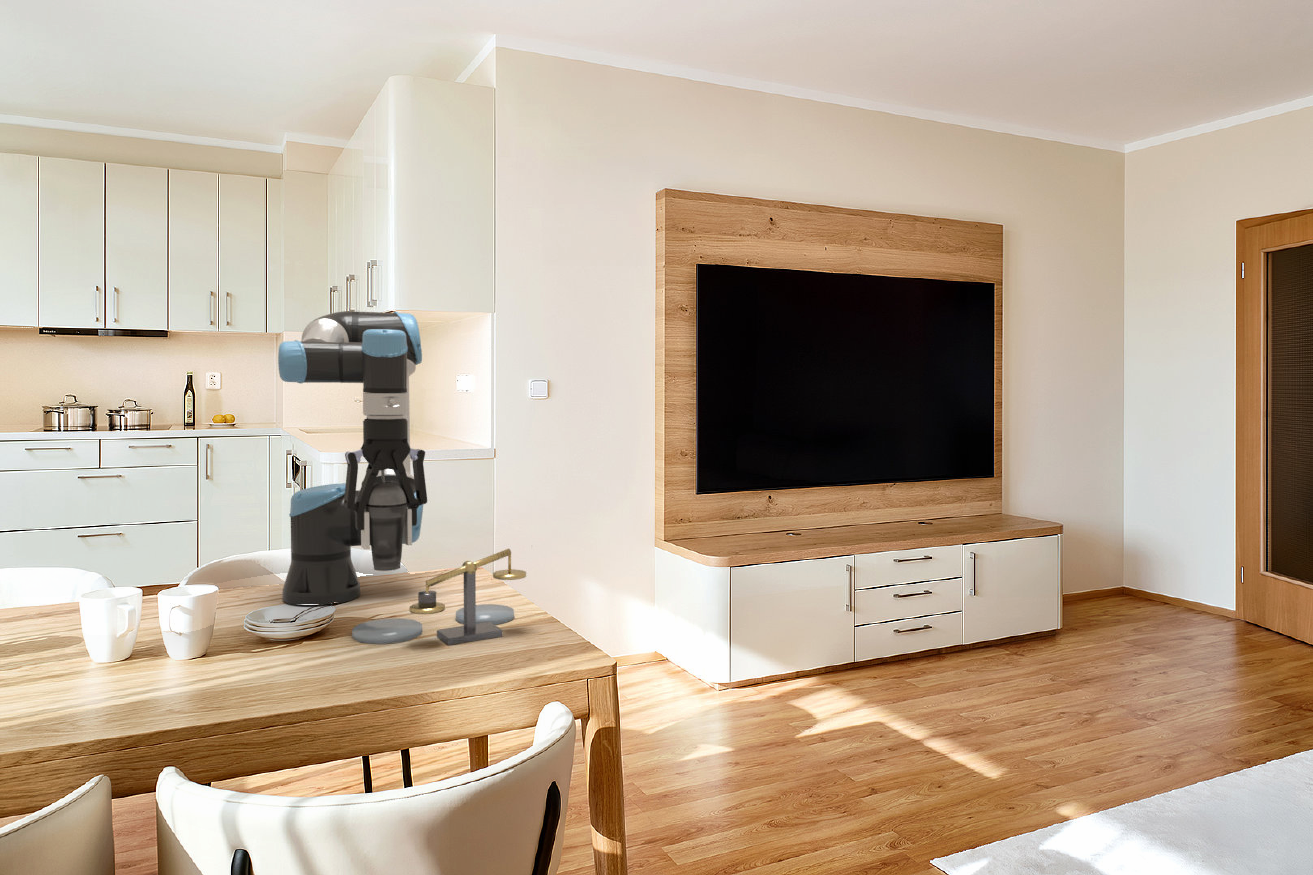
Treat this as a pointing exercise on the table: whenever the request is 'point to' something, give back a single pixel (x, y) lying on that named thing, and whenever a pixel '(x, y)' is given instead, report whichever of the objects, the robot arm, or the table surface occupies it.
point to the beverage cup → (386, 524)
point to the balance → (465, 601)
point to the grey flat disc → (387, 631)
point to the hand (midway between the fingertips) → (386, 545)
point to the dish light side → (489, 614)
